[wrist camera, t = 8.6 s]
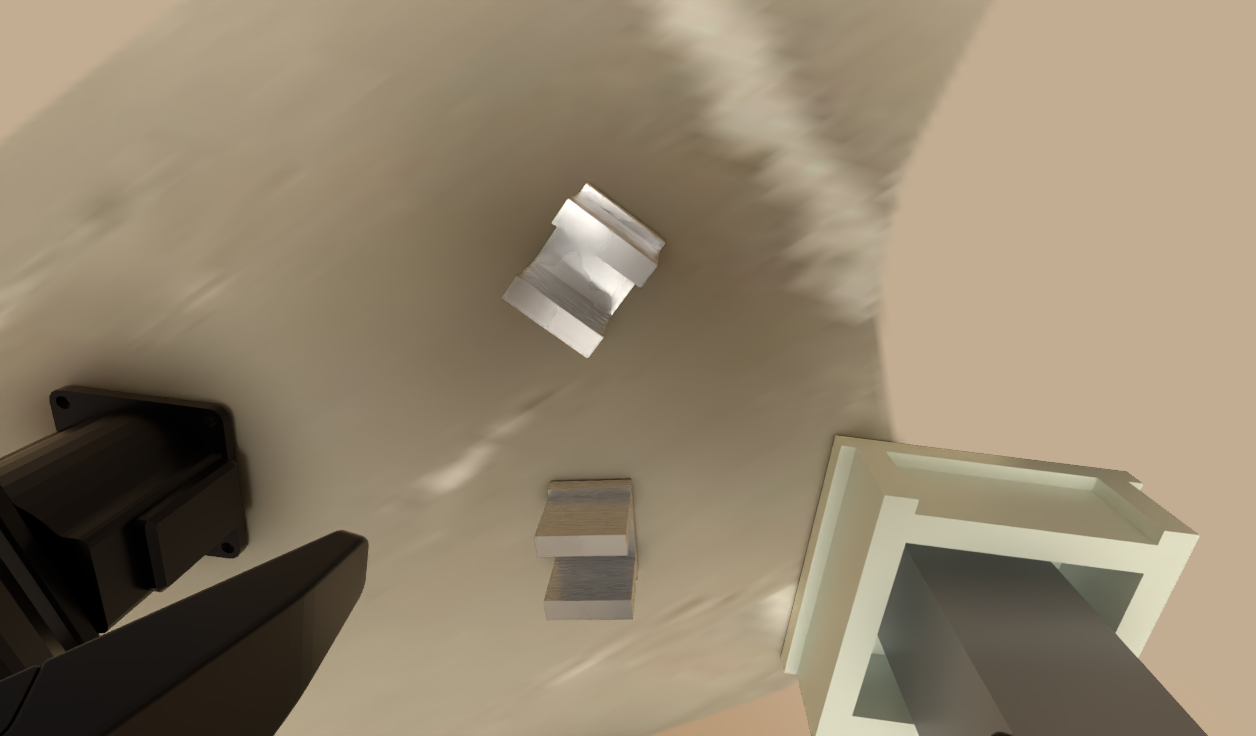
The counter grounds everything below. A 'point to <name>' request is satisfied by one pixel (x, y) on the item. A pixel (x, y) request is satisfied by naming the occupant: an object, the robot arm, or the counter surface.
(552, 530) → the clip
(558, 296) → the clip
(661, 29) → the counter surface
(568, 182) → the counter surface
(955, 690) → the grey square bottle
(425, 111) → the counter surface
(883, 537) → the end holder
